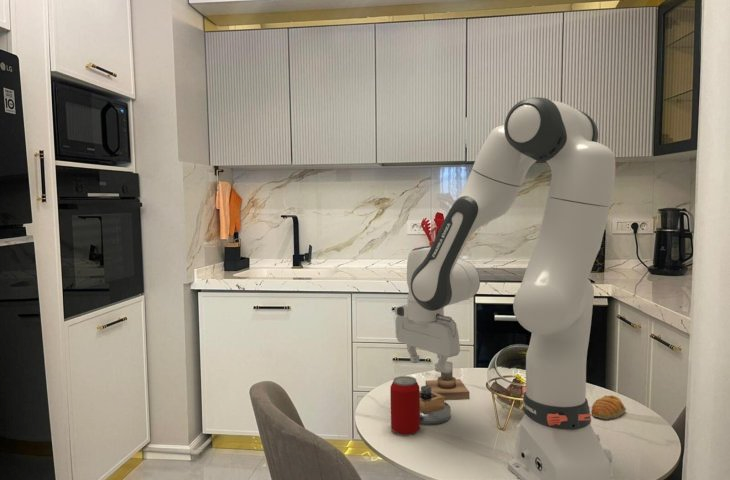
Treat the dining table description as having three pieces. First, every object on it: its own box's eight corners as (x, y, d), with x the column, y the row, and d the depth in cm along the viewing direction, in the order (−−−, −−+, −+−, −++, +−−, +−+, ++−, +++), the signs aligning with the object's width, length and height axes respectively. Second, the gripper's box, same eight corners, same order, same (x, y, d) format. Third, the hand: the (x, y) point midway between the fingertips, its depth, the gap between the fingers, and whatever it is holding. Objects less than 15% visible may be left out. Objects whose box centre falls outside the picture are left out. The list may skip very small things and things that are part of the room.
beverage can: (419, 424, 120) (419, 375, 119) (420, 437, 113) (419, 385, 112) (391, 423, 120) (390, 374, 119) (390, 436, 114) (389, 384, 113)
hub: (460, 417, 123) (460, 389, 123) (423, 429, 117) (423, 400, 116) (428, 402, 133) (428, 376, 133) (392, 412, 127) (392, 385, 126)
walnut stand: (469, 399, 135) (469, 368, 134) (432, 400, 134) (432, 369, 134) (459, 385, 145) (459, 357, 144) (425, 387, 144) (425, 358, 144)
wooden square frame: (444, 408, 124) (444, 396, 124) (424, 414, 120) (424, 402, 120) (427, 400, 129) (427, 389, 129) (408, 406, 126) (407, 394, 125)
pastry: (612, 424, 118) (612, 408, 118) (584, 416, 123) (584, 401, 123) (627, 413, 125) (627, 398, 125) (599, 405, 130) (599, 391, 130)
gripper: (465, 316, 116) (466, 374, 117) (409, 304, 133) (410, 355, 134) (445, 320, 113) (446, 380, 114) (390, 307, 130) (392, 359, 131)
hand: (426, 366), depth 124 cm, fingers open, 8 cm apart
